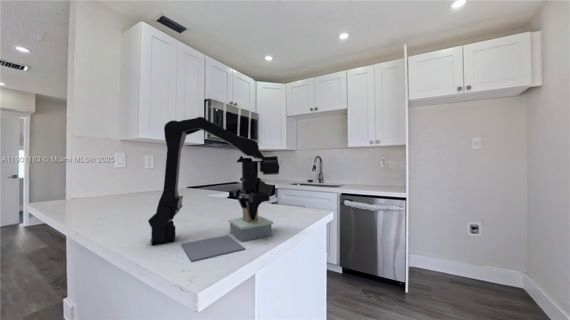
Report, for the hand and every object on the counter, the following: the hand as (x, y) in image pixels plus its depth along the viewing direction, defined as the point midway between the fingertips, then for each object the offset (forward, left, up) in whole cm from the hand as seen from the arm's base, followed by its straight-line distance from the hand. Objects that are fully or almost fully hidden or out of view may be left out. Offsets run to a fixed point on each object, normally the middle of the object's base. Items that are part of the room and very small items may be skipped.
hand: (250, 218), depth 82 cm
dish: (0, 0, -6) cm, 6 cm away
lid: (0, 0, -2) cm, 2 cm away
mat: (-15, -5, -6) cm, 17 cm away
